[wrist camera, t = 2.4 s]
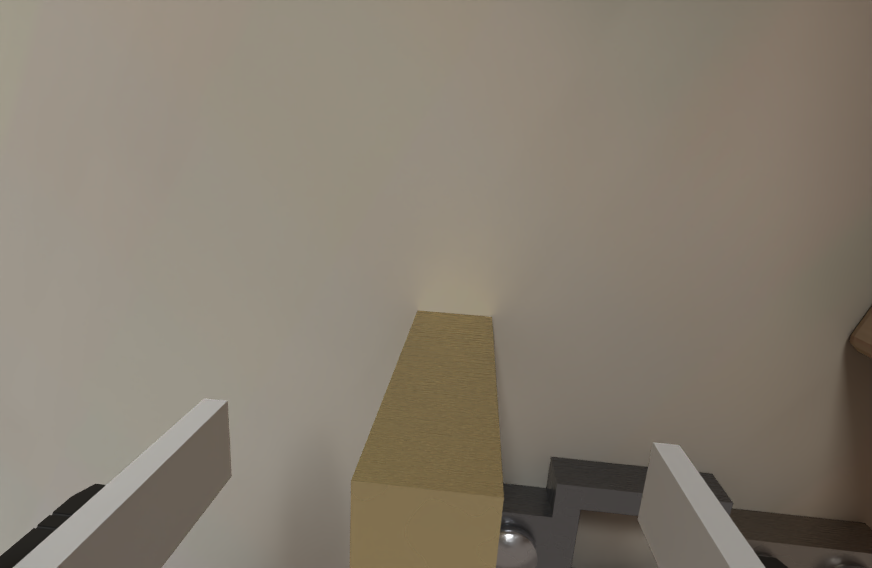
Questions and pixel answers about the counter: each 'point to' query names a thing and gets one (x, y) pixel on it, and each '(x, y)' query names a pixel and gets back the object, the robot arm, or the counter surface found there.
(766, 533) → the ball-studded metal bracket
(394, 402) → the pin
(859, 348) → the wooden block
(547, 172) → the counter surface
